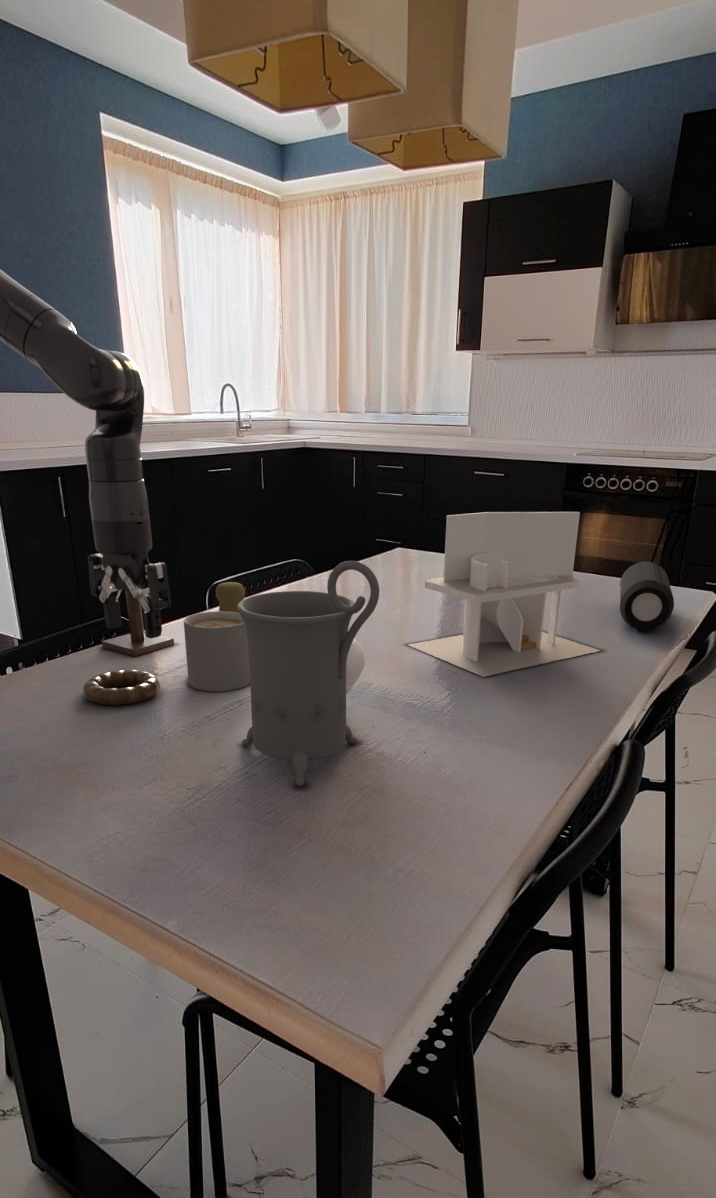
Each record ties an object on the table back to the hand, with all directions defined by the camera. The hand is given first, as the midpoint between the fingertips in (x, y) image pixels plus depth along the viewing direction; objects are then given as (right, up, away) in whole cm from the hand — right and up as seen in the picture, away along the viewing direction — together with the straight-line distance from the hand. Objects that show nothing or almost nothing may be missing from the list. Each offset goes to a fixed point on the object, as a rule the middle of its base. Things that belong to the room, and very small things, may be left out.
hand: (133, 632), depth 110 cm
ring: (-4, -7, +6) cm, 10 cm away
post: (-8, +1, +29) cm, 30 cm away
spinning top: (+29, -11, +3) cm, 31 cm away
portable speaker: (+91, +9, +51) cm, 105 cm away
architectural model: (+59, +1, +30) cm, 66 cm away
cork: (+9, +2, +32) cm, 33 cm away
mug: (+26, -18, -14) cm, 34 cm away
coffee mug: (+11, -6, +14) cm, 19 cm away
